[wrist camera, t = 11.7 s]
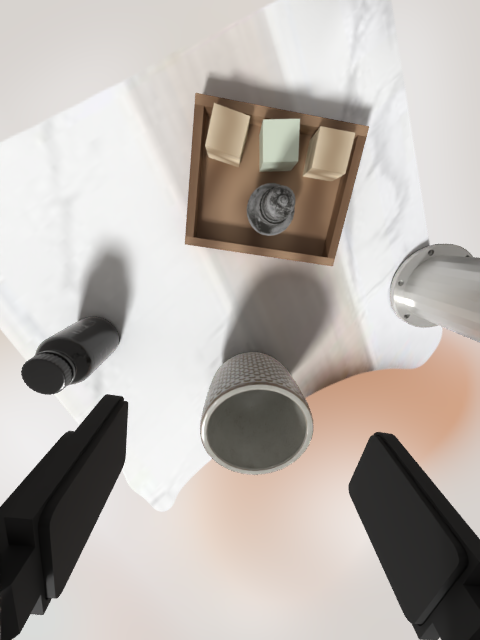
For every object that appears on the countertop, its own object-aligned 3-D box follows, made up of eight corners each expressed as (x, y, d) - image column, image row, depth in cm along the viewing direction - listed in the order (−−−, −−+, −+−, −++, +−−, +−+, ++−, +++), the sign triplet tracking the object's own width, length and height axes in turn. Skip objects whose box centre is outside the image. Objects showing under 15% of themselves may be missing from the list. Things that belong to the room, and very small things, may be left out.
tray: (356, 137, 31) (369, 126, 28) (324, 264, 36) (332, 266, 33) (199, 107, 29) (195, 92, 26) (188, 243, 34) (184, 244, 31)
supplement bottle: (69, 341, 39) (1, 384, 27) (86, 307, 37) (20, 337, 25) (110, 362, 40) (61, 411, 28) (128, 329, 38) (83, 368, 27)
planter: (250, 422, 44) (256, 492, 32) (192, 376, 41) (175, 435, 29) (307, 374, 41) (338, 430, 29) (250, 321, 38) (258, 360, 26)
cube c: (248, 131, 30) (250, 116, 26) (239, 167, 31) (239, 157, 27) (216, 120, 29) (214, 102, 25) (208, 157, 30) (205, 145, 27)
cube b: (291, 134, 30) (300, 118, 26) (290, 170, 31) (298, 161, 27) (259, 134, 30) (263, 119, 26) (259, 171, 31) (263, 162, 27)
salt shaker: (285, 184, 32) (314, 153, 20) (291, 231, 34) (320, 227, 22) (241, 194, 32) (246, 168, 20) (249, 240, 34) (257, 240, 22)
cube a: (340, 146, 30) (355, 132, 27) (331, 181, 32) (345, 173, 28) (309, 140, 30) (320, 126, 26) (302, 176, 31) (311, 167, 28)
